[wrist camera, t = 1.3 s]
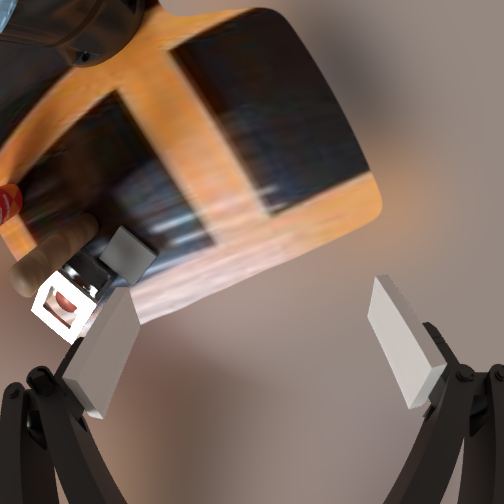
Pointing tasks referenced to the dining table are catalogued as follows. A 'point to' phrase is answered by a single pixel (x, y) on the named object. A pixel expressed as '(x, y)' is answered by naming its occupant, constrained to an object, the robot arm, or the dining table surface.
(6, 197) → the paper cup
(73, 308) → the button
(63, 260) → the stylus
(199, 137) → the dining table surface
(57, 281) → the box
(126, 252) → the mat
